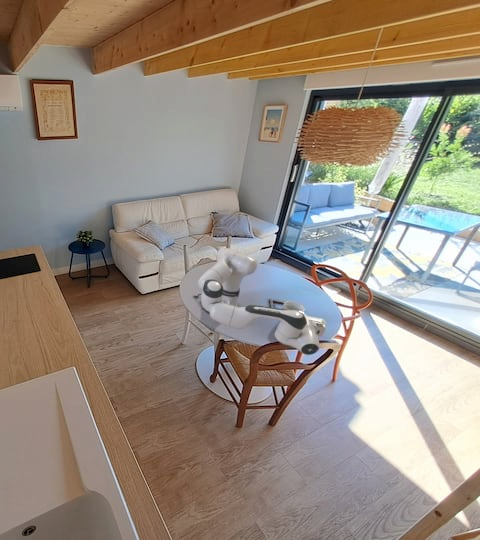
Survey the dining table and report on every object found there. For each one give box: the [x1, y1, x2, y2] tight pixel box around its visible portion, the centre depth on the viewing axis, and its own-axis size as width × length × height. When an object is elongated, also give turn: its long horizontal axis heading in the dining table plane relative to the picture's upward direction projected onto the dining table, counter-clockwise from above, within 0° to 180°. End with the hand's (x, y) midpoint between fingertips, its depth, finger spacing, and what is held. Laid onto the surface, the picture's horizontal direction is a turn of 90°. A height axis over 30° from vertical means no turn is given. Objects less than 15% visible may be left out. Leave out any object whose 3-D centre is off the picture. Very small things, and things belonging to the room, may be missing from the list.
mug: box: [281, 300, 306, 312], centre depth 167 cm, size 15×11×13 cm
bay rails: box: [269, 298, 286, 308], centre depth 184 cm, size 18×16×1 cm
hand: (300, 311), depth 153 cm, fingers closed
